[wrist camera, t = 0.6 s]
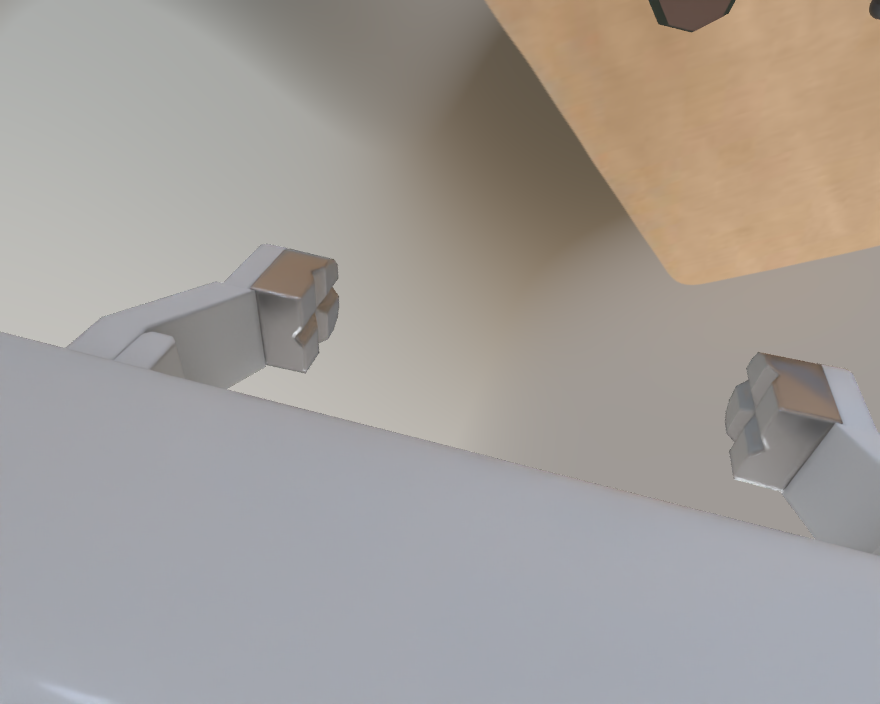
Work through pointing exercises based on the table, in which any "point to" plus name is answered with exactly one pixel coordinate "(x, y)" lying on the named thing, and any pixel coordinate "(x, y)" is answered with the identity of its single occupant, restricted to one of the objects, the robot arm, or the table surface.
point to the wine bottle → (689, 12)
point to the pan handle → (875, 9)
